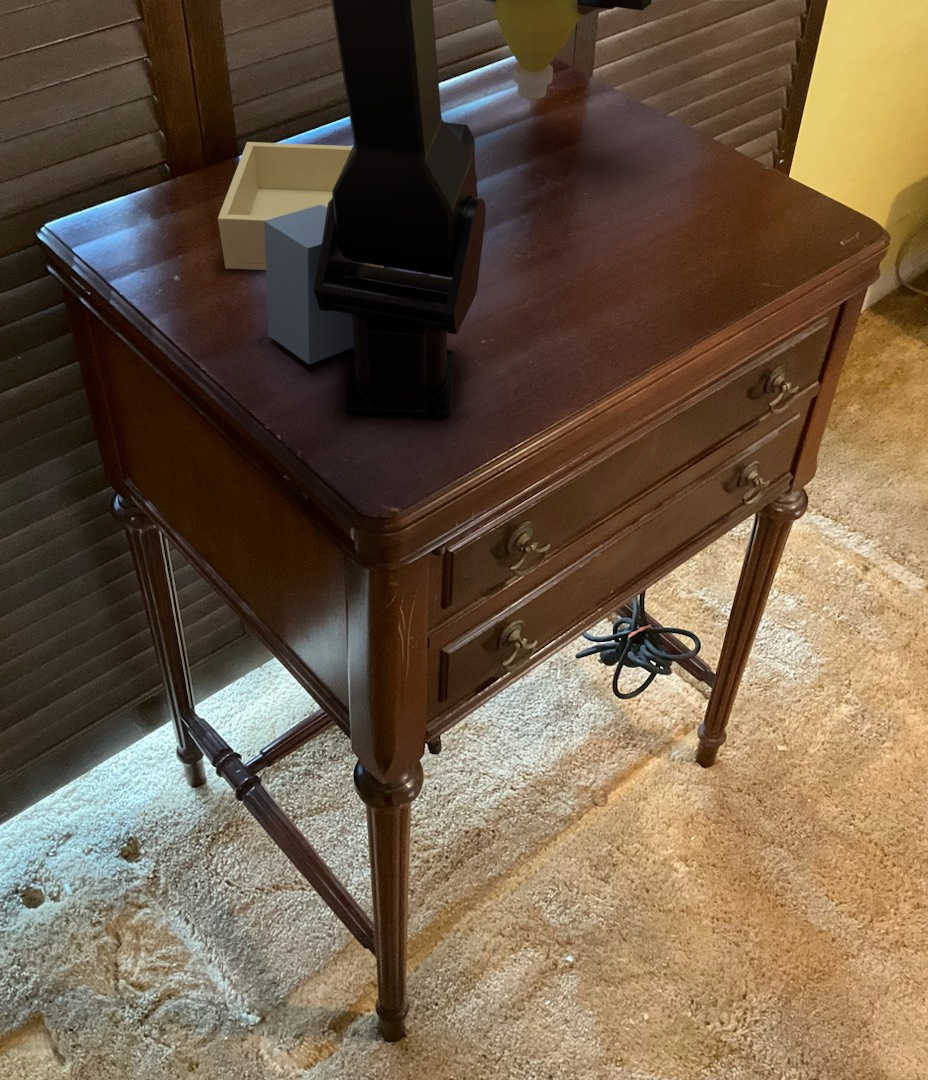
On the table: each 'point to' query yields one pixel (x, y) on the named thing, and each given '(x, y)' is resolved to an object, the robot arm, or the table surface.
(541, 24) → the light bulb
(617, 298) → the table surface
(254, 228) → the cream bin
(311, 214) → the blue block
